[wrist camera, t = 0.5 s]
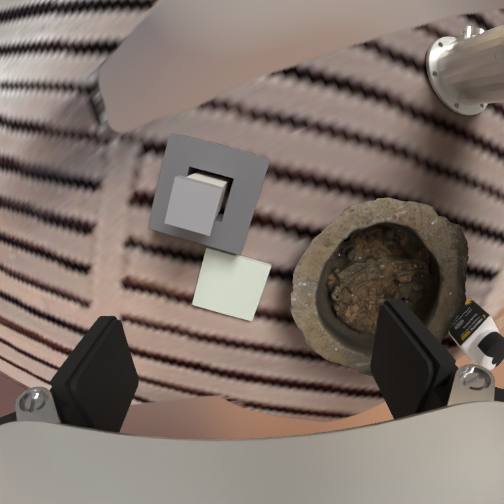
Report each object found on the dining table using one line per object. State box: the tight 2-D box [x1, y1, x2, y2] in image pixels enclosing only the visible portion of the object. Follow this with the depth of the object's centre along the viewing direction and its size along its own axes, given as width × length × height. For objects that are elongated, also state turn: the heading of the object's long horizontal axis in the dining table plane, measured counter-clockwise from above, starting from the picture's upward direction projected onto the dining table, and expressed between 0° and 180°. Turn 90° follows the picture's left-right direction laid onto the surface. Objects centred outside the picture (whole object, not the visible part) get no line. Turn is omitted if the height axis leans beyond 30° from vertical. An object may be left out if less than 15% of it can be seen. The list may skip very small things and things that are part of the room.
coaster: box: [192, 246, 271, 321], centre depth 43 cm, size 9×9×1 cm
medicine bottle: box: [448, 298, 504, 370], centre depth 40 cm, size 7×7×12 cm
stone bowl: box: [290, 198, 469, 376], centre depth 39 cm, size 25×25×9 cm
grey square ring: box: [148, 133, 270, 255], centre depth 38 cm, size 12×12×4 cm
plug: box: [165, 171, 229, 236], centre depth 34 cm, size 5×5×12 cm
